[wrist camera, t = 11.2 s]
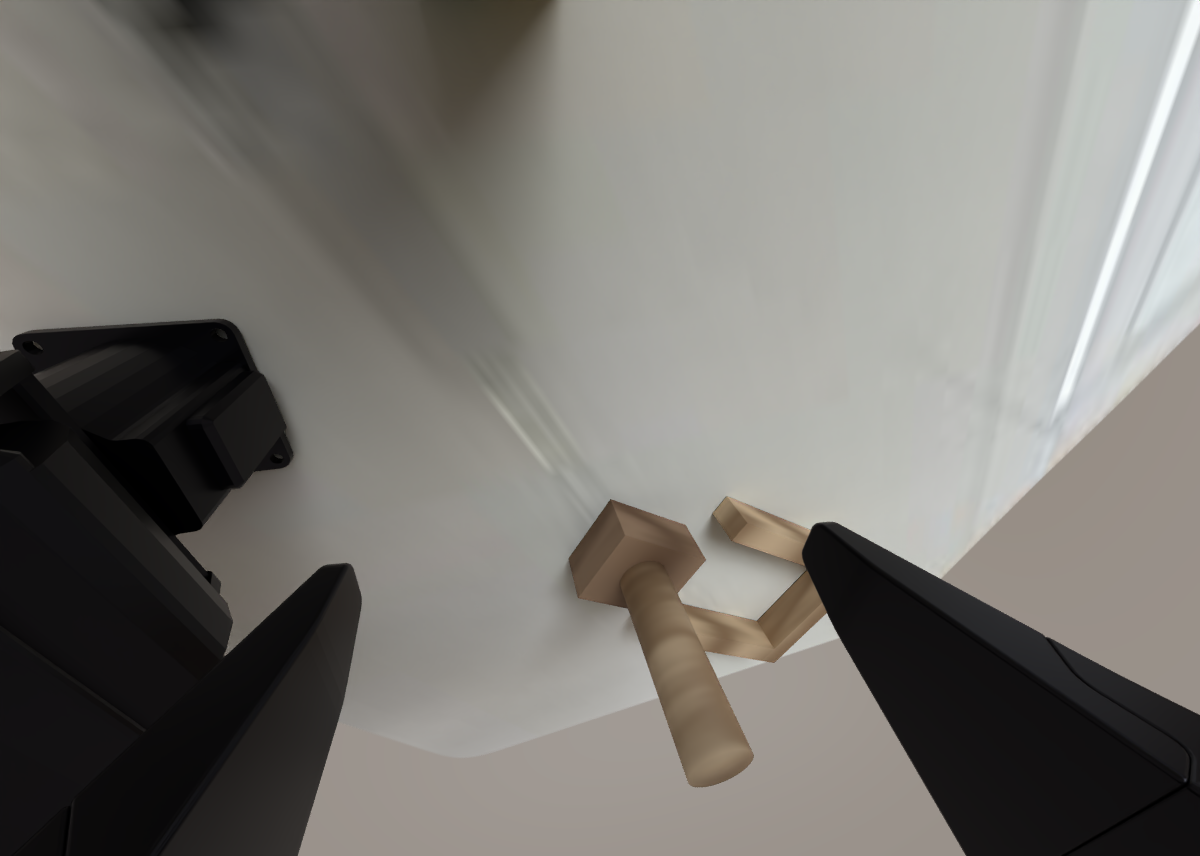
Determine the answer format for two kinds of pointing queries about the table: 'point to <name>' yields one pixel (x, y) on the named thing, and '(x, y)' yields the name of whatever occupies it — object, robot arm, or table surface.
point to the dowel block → (664, 631)
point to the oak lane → (786, 614)
